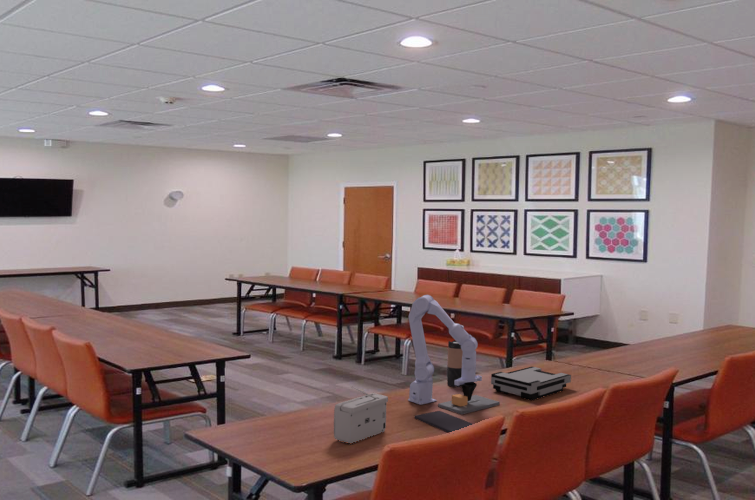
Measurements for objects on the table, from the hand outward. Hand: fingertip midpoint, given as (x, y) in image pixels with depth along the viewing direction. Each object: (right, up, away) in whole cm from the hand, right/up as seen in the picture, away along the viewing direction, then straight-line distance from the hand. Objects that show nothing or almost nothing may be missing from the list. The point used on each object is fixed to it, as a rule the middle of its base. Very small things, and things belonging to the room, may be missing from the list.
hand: (467, 400), depth 278 cm
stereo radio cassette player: (-43, -4, -40) cm, 59 cm away
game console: (+32, -2, +28) cm, 42 cm away
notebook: (-11, -4, -22) cm, 26 cm away
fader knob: (-4, -1, -3) cm, 5 cm away
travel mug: (-1, -1, +33) cm, 33 cm away
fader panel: (+1, -2, +1) cm, 3 cm away
